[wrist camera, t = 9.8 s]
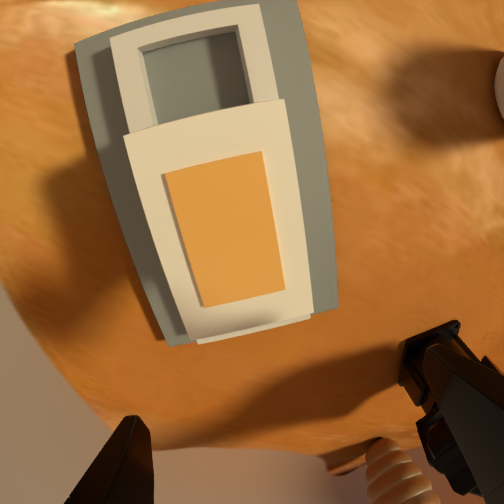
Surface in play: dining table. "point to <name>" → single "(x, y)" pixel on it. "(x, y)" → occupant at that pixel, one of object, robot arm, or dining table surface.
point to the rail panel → (201, 101)
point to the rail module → (226, 216)
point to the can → (500, 86)
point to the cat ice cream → (395, 476)
